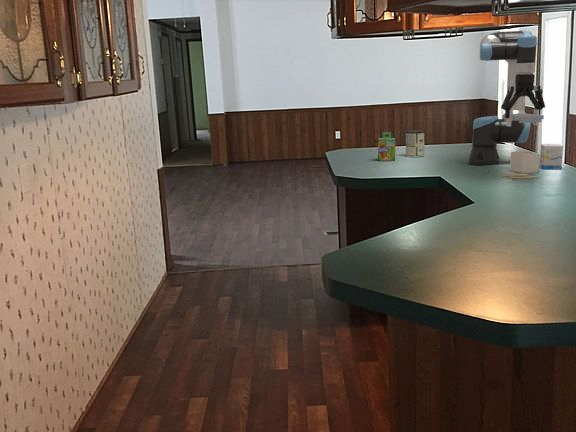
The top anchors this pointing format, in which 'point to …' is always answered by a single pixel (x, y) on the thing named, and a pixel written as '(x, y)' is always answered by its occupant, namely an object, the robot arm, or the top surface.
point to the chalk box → (386, 147)
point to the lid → (525, 118)
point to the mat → (519, 176)
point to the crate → (524, 161)
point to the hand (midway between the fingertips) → (522, 125)
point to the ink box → (551, 157)
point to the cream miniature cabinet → (415, 143)
